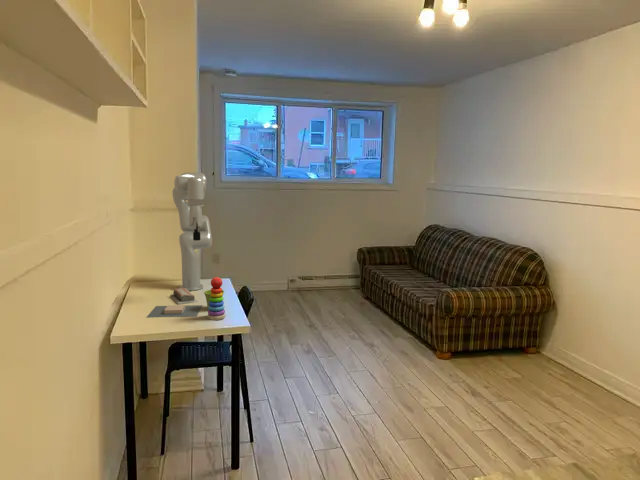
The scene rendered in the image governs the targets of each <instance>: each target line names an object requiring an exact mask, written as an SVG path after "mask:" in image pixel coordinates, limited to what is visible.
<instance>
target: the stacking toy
mask: <svg viewBox="0 0 640 480" xmlns="http://www.w3.org/2000/svg"><path fill="white" fill-rule="evenodd" d="M210 286H211V288H210V290H211V293H210V296H211V297H210V302H209V307H207V316H206V317H207V319H208V320H211V321H220V320H223V319H225V318H226V311H225V310H226V309H225V305H224V304H225V303H224V293H222V290H223V288H222V286H223V280H222V279H221V277H219V276H216V277H213V278H212V279H211V280H210ZM222 296H223V297H222ZM208 309H209V310H208Z"/></svg>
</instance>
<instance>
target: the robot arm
mask: <svg viewBox="0 0 640 480" xmlns="http://www.w3.org/2000/svg"><path fill="white" fill-rule="evenodd" d="M207 181H208V180H207V177H206V175H205V174H204V173H203V172H183V173H182V174H180V175H176V176H175V178H174V181H173V183H174V188H173V189H172V199H173V202H174V204H175V207H176V209H177V211H178V217H179V225H180V228H181V229H180V230H181V231H182V233H181V234H180V235H179V239H178V241H179V246H180V247H179V248H180V255H181V277H182V278H181V279H182V281H181V283H182V285H179V288H186V289H187V290H188V291H189V292H193V291H199V290H202V289H203V288H204V285H203V284H201V268H200V266H201V265H200V256H199V254H198V252H197V251H196V250H201V249H203V250H204V249H210V248H212V245H213V236H212V230H211V223H210V218H209V217H208V216H207V215H204V214H203V210H202V209H203V208H202V207H204V205H205V203H204V202H205V201H204V200H205V197H206V190H207V189H206V188H207V185H208V184H207Z"/></svg>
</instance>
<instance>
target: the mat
mask: <svg viewBox="0 0 640 480" xmlns="http://www.w3.org/2000/svg"><path fill="white" fill-rule="evenodd" d="M167 306H168V305H155V307H154V308H153V309H152V310H151V312H149V314H148V315H147V316H146V318H147V319H148V318H149V319H150V318H190V317H191V318H193V317H194V318H195V317H197V316H198V315H199V313H200V311H201V309H202V307H203V304H197V305H196V304H194V305H193V304H192V305H187V304H186V305H185V311H184V312H183V314H166V315H164V310H165V308H166V307H167Z"/></svg>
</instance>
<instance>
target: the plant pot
mask: <svg viewBox="0 0 640 480" xmlns="http://www.w3.org/2000/svg"><path fill="white" fill-rule="evenodd" d="M210 293H211V289H207V290H204V291H203V294H204V297H205V300H206V304H207V311H208V310H209V309H208V307H209V302H210V297H211V296H210ZM222 293H223V294H224V293H225V291H224V290H223V289H222ZM222 297H223V298H224V295H223V296H222Z"/></svg>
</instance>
